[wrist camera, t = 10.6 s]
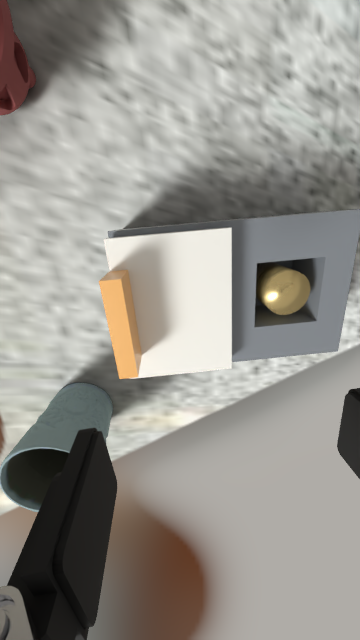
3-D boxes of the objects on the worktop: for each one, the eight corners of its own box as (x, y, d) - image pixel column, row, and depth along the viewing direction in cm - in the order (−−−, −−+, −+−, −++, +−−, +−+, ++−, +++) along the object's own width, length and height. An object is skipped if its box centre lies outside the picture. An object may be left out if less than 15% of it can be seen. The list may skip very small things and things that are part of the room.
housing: (312, 212, 28) (364, 208, 21) (299, 322, 34) (337, 351, 26) (122, 228, 28) (107, 231, 20) (140, 338, 33) (133, 372, 26)
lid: (227, 227, 20) (245, 228, 16) (228, 360, 25) (242, 391, 21) (107, 237, 20) (90, 242, 16) (132, 370, 25) (124, 403, 20)
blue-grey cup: (77, 439, 39) (43, 525, 28) (33, 395, 36) (-27, 474, 24) (130, 412, 38) (116, 491, 27) (90, 364, 34) (54, 433, 23)
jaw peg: (283, 259, 28) (312, 268, 23) (280, 295, 30) (307, 312, 24) (246, 262, 28) (266, 272, 23) (245, 299, 30) (264, 317, 24)
